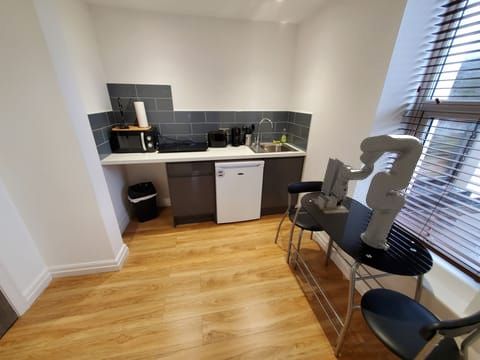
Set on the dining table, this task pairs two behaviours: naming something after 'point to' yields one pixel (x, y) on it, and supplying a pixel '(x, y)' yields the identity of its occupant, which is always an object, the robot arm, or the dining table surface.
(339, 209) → the ticket board
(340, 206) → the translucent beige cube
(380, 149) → the robot arm
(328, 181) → the brochure
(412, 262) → the dining table surface
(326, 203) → the ticket pad
